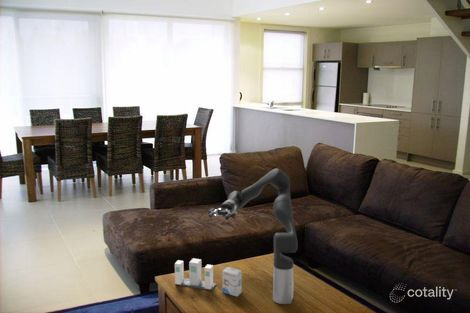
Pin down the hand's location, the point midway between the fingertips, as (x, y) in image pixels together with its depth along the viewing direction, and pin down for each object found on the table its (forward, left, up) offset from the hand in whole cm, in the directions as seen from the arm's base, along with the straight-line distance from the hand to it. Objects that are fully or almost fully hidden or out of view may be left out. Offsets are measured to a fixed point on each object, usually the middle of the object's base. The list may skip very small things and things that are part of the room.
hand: (218, 217), depth 220 cm
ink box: (-11, +11, -34) cm, 38 cm away
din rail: (+9, +9, -34) cm, 36 cm away
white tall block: (+9, +9, -33) cm, 35 cm away
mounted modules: (+9, +11, -33) cm, 36 cm away
